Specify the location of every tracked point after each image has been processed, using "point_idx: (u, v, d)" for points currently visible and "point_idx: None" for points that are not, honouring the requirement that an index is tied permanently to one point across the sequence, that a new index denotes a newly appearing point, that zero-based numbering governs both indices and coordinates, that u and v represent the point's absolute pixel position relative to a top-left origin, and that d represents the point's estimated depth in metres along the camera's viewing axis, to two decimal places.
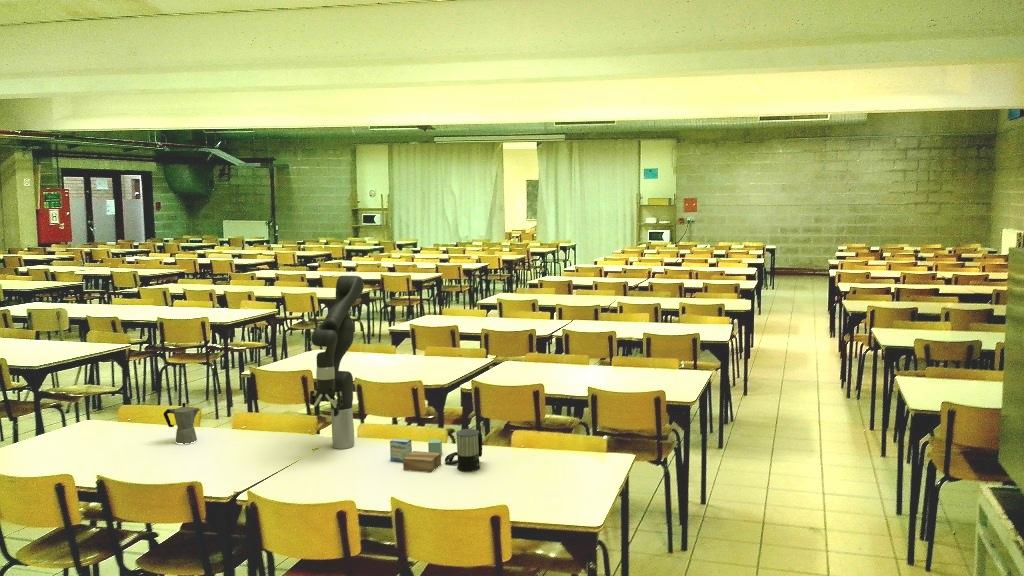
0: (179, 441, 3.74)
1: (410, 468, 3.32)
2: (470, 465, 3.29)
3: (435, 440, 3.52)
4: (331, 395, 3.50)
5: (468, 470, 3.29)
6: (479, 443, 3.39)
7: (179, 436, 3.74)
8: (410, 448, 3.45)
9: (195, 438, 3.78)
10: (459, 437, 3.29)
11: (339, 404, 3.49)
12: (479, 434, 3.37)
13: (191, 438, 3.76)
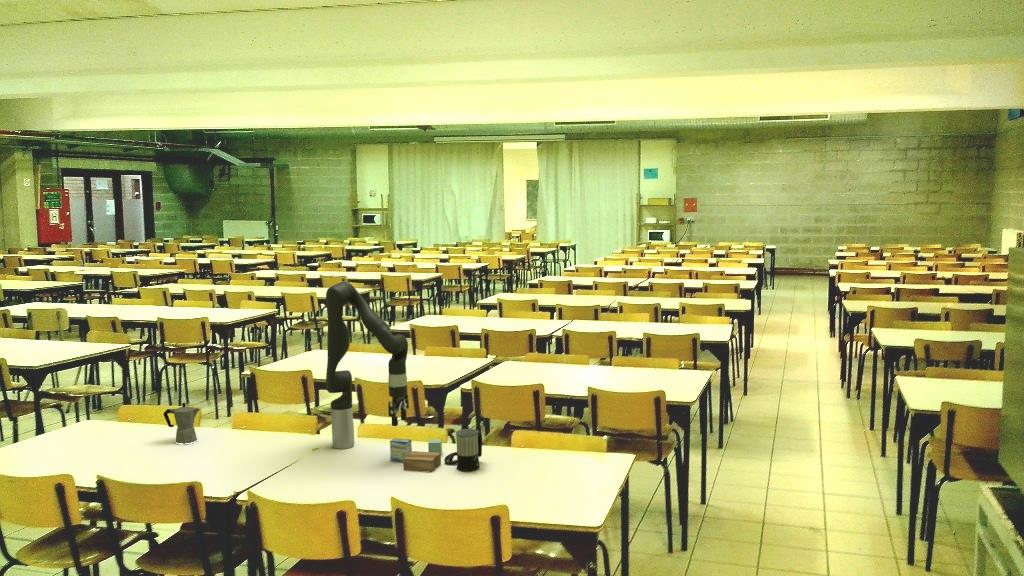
0: (179, 441, 3.74)
1: (410, 468, 3.32)
2: (469, 465, 3.29)
3: (435, 440, 3.52)
4: (404, 400, 3.45)
5: (468, 470, 3.29)
6: (479, 443, 3.39)
7: (179, 436, 3.74)
8: (410, 448, 3.45)
9: (195, 438, 3.78)
10: (459, 437, 3.29)
11: (408, 406, 3.49)
12: (479, 434, 3.37)
13: (191, 438, 3.76)
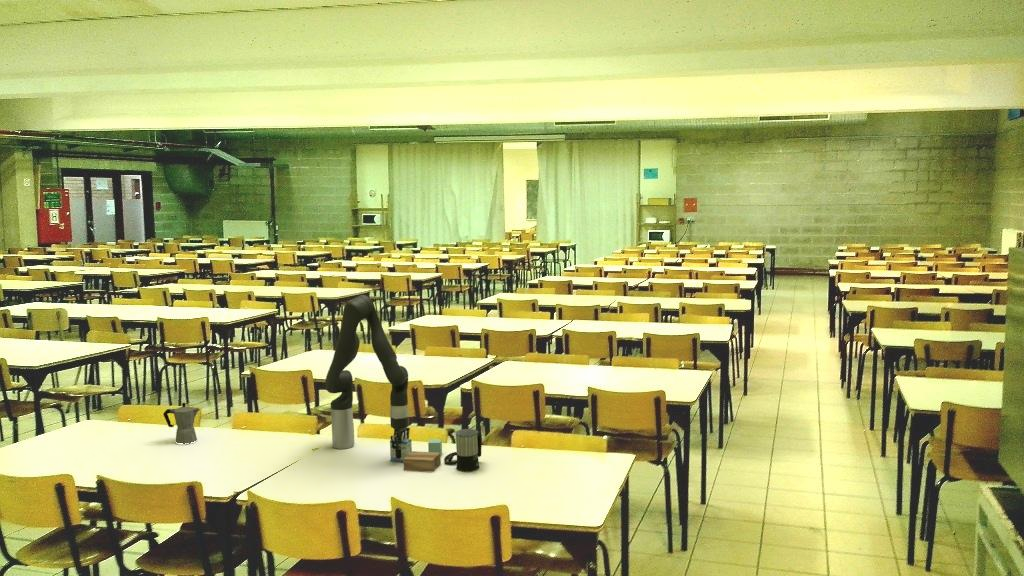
0: (179, 441, 3.74)
1: (411, 468, 3.32)
2: (469, 465, 3.30)
3: (435, 440, 3.52)
4: None
5: (467, 470, 3.30)
6: (478, 443, 3.39)
7: (179, 436, 3.74)
8: (410, 448, 3.45)
9: (195, 438, 3.78)
10: (458, 437, 3.29)
11: None
12: (478, 434, 3.37)
13: (191, 438, 3.76)
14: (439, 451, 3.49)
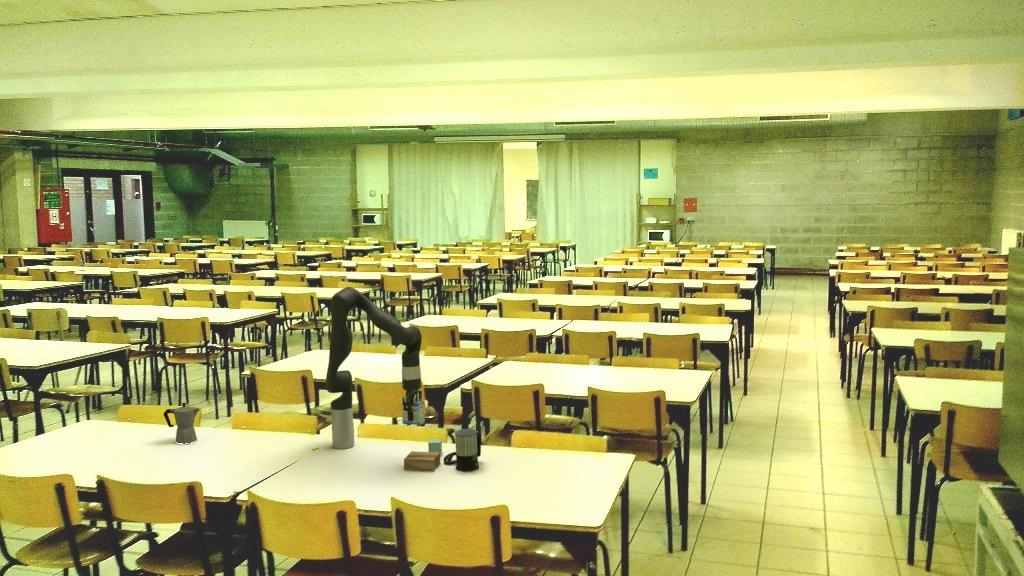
0: (179, 441, 3.74)
1: (411, 468, 3.32)
2: (468, 465, 3.30)
3: (435, 440, 3.52)
4: None
5: (467, 470, 3.30)
6: (478, 443, 3.39)
7: (179, 436, 3.74)
8: (422, 410, 3.36)
9: (195, 438, 3.78)
10: (458, 437, 3.29)
11: None
12: (478, 434, 3.38)
13: (191, 438, 3.76)
14: (439, 451, 3.49)
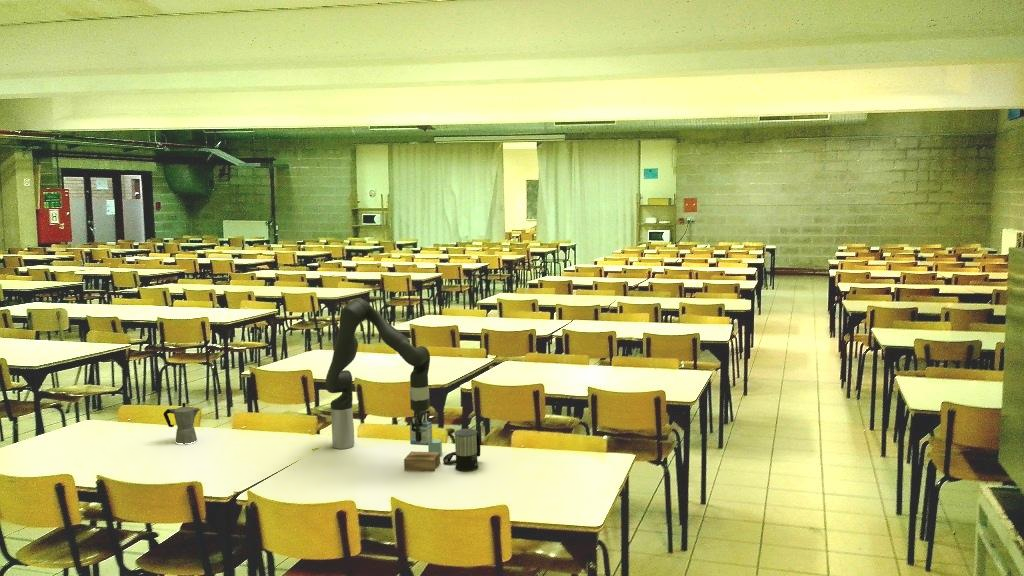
0: (179, 441, 3.74)
1: (411, 468, 3.32)
2: (468, 465, 3.30)
3: (435, 440, 3.52)
4: None
5: (466, 470, 3.30)
6: (477, 443, 3.39)
7: (179, 436, 3.74)
8: (430, 431, 3.34)
9: (195, 438, 3.78)
10: (457, 437, 3.30)
11: None
12: (477, 434, 3.38)
13: (191, 438, 3.76)
14: (439, 451, 3.49)
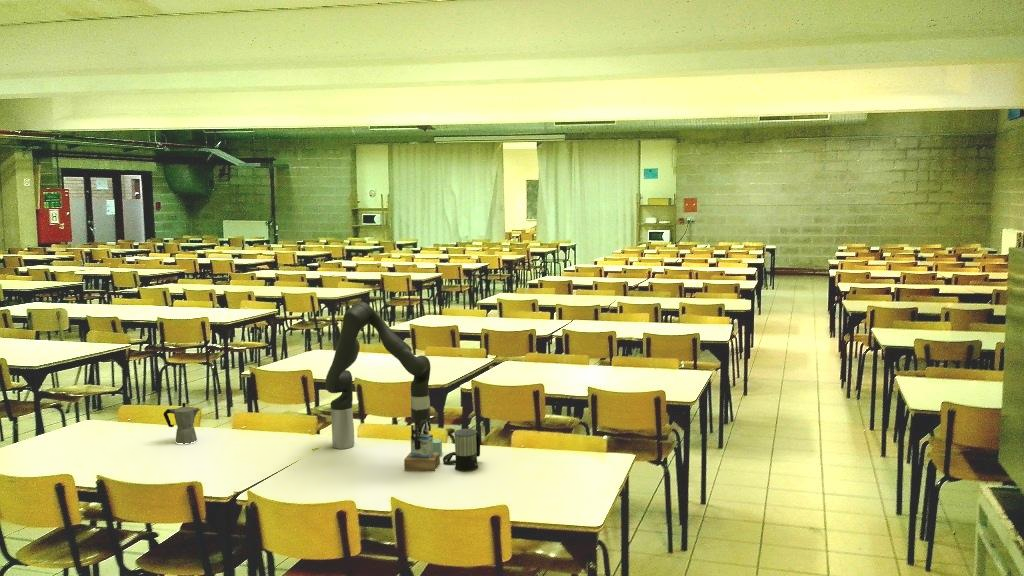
0: (179, 441, 3.74)
1: (411, 469, 3.32)
2: (468, 465, 3.30)
3: (435, 440, 3.52)
4: (426, 422, 3.37)
5: (466, 470, 3.30)
6: (477, 443, 3.39)
7: (179, 436, 3.74)
8: (431, 443, 3.35)
9: (195, 438, 3.78)
10: (457, 437, 3.30)
11: (430, 429, 3.41)
12: (477, 434, 3.38)
13: (191, 438, 3.76)
14: (439, 451, 3.49)
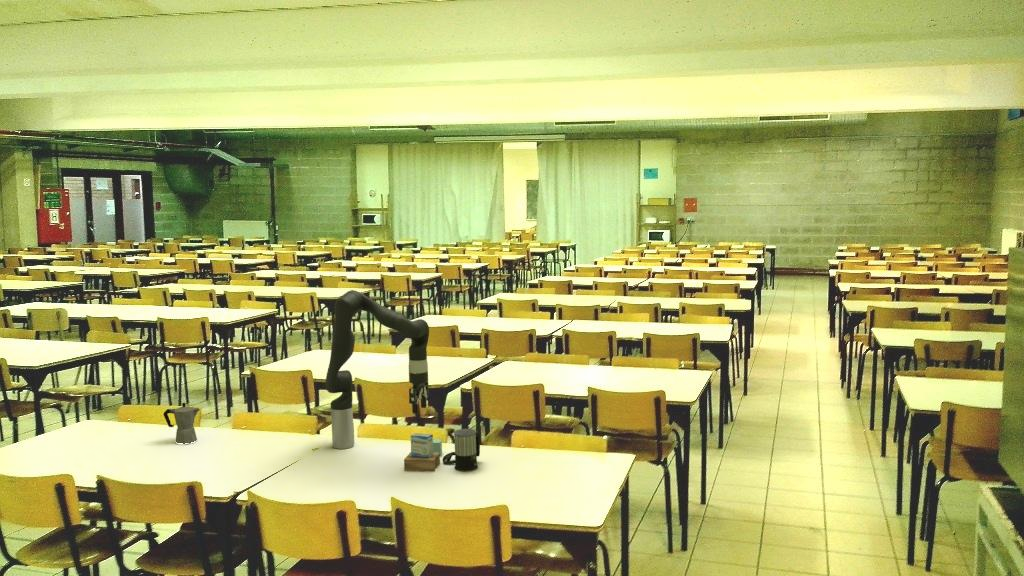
0: (179, 441, 3.74)
1: (411, 469, 3.32)
2: (467, 465, 3.30)
3: (435, 440, 3.52)
4: (424, 386, 3.36)
5: (466, 470, 3.30)
6: (477, 443, 3.39)
7: (179, 436, 3.74)
8: (431, 443, 3.35)
9: (195, 438, 3.78)
10: (457, 437, 3.30)
11: (428, 393, 3.39)
12: (477, 434, 3.38)
13: (191, 438, 3.76)
14: (439, 451, 3.49)
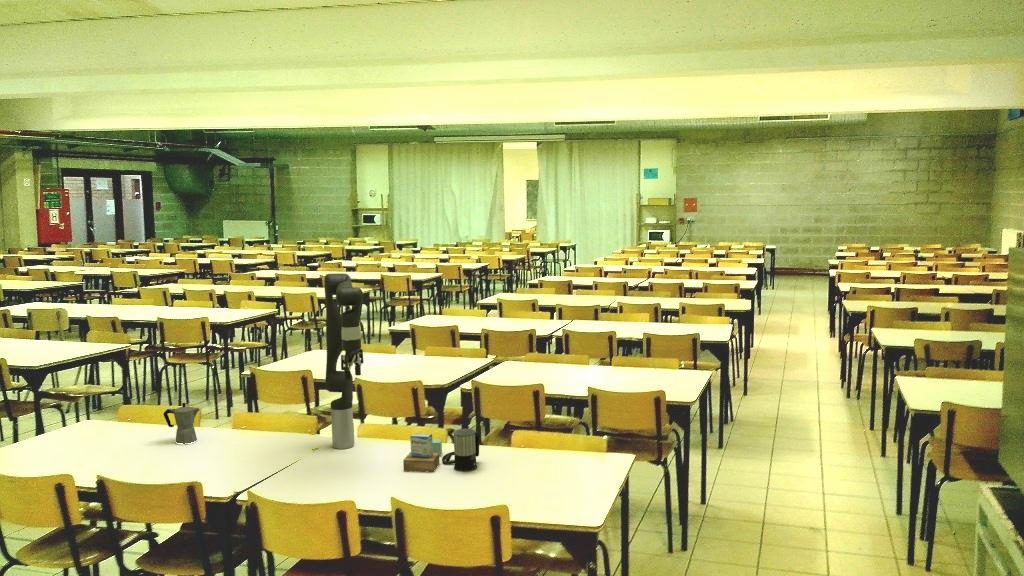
0: (179, 441, 3.74)
1: (411, 469, 3.31)
2: (467, 465, 3.30)
3: (435, 440, 3.52)
4: (358, 354, 3.38)
5: (465, 470, 3.30)
6: (476, 443, 3.39)
7: (179, 436, 3.74)
8: (431, 443, 3.35)
9: (195, 438, 3.78)
10: (456, 437, 3.30)
11: (362, 361, 3.42)
12: (476, 434, 3.38)
13: (191, 438, 3.76)
14: (439, 451, 3.49)
